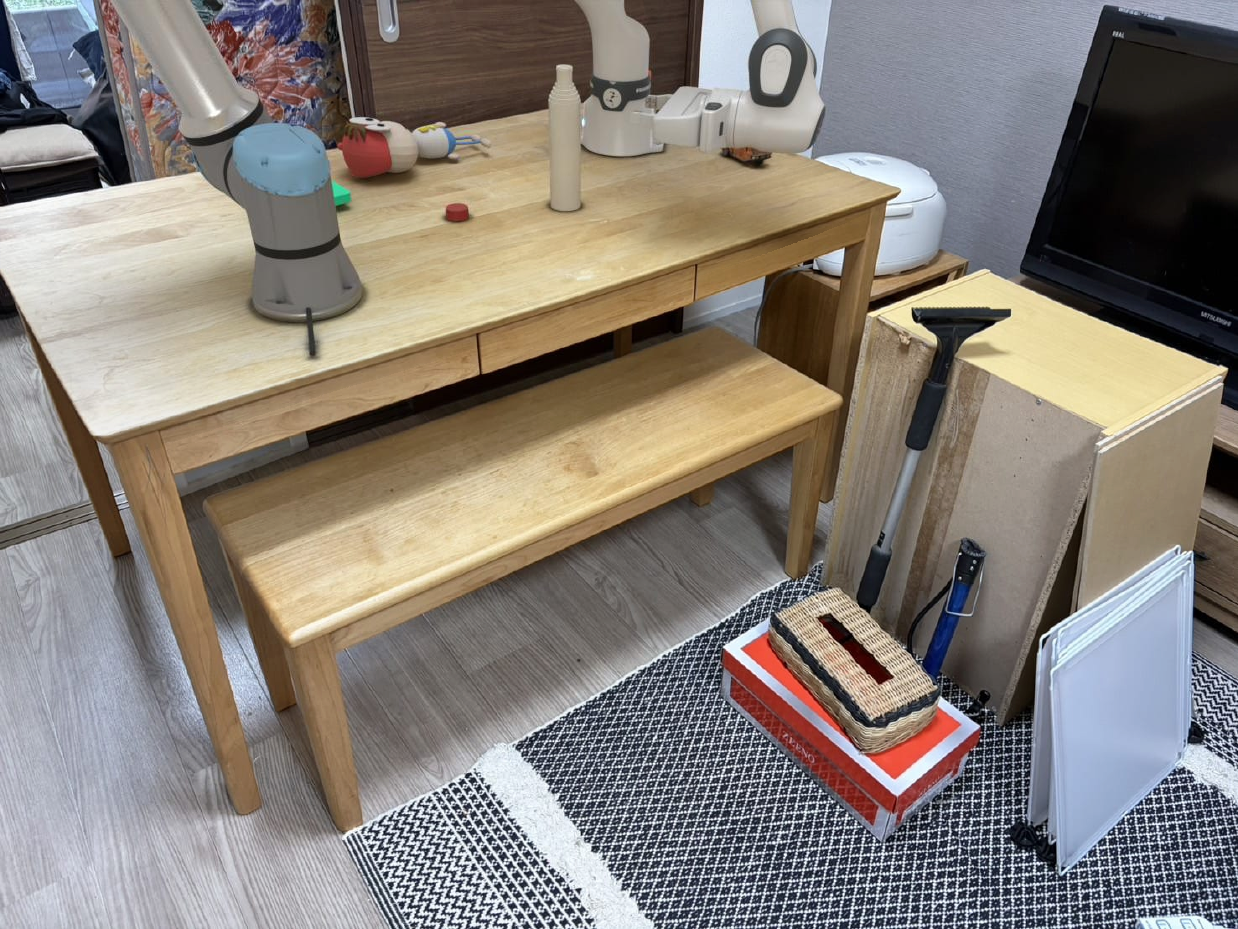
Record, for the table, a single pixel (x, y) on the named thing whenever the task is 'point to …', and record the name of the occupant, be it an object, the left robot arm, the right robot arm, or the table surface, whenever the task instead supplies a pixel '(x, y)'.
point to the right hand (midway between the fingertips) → (638, 108)
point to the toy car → (747, 154)
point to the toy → (395, 145)
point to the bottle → (565, 142)
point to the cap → (457, 212)
